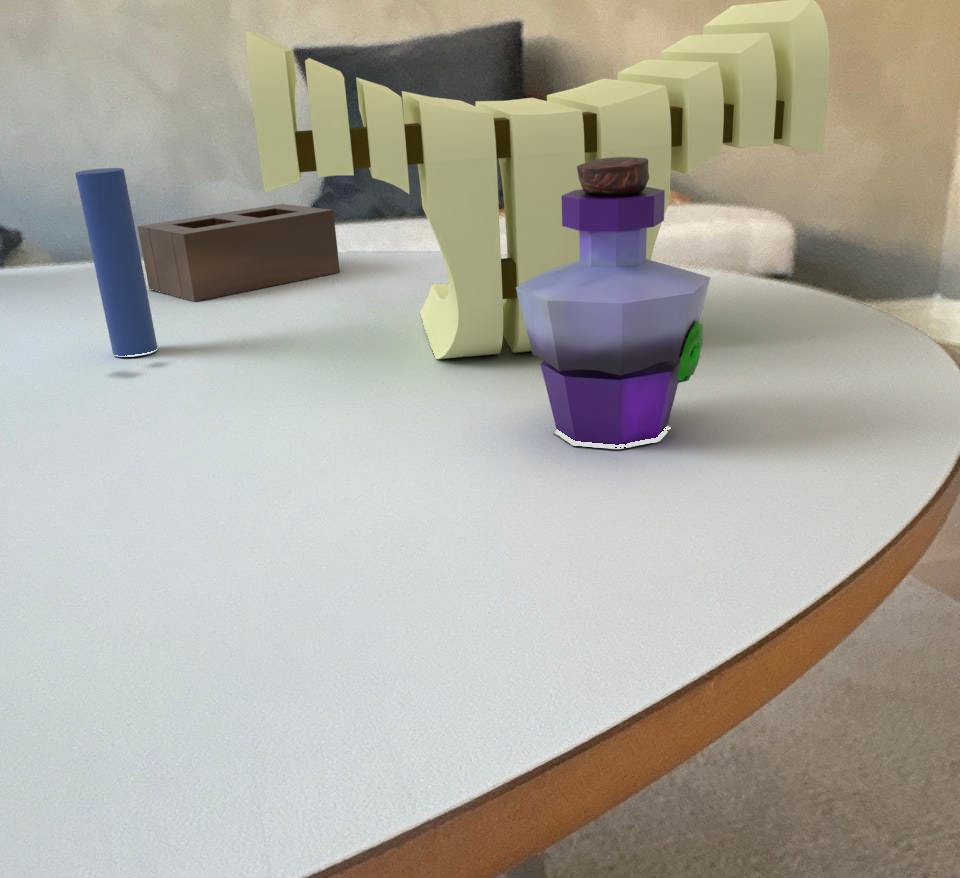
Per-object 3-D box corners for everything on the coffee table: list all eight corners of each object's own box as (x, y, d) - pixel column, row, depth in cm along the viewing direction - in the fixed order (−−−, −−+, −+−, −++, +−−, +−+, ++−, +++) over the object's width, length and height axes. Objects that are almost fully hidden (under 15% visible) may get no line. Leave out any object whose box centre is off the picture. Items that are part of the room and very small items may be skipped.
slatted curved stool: (290, 387, 61) (242, 29, 53) (297, 323, 75) (260, 33, 67) (806, 342, 64) (836, -5, 55) (719, 288, 78) (732, 5, 70)
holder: (149, 289, 89) (136, 226, 87) (290, 262, 97) (282, 203, 94) (194, 301, 83) (183, 234, 81) (340, 272, 91) (333, 209, 89)
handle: (106, 353, 70) (67, 172, 65) (146, 344, 72) (111, 167, 67) (124, 360, 68) (86, 174, 63) (165, 351, 70) (131, 169, 65)
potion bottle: (720, 457, 47) (735, 163, 42) (523, 466, 48) (512, 175, 42) (689, 399, 55) (698, 144, 50) (519, 406, 55) (510, 154, 50)
